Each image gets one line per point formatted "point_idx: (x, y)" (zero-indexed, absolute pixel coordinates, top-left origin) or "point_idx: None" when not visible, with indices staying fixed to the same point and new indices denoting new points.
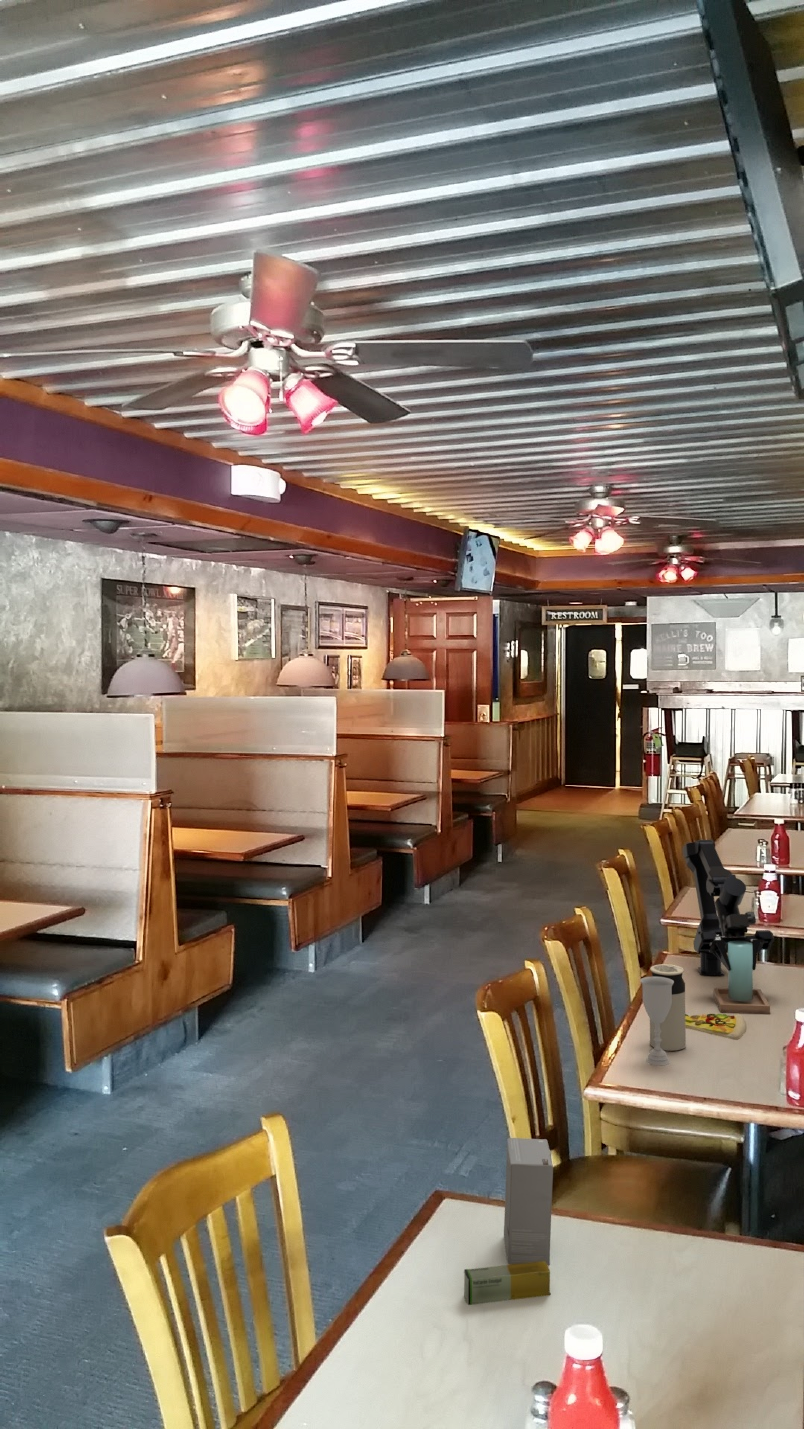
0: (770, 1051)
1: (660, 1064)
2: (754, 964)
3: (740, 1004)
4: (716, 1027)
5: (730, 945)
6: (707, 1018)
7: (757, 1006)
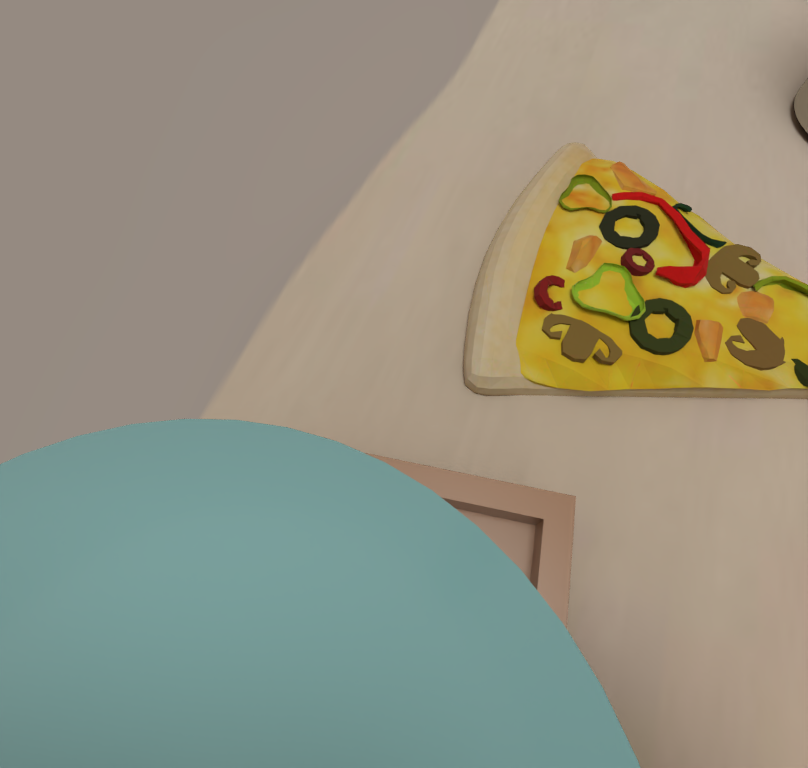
0: (471, 62)
1: None
2: None
3: (430, 482)
4: (656, 190)
5: (631, 758)
6: (698, 265)
7: None
